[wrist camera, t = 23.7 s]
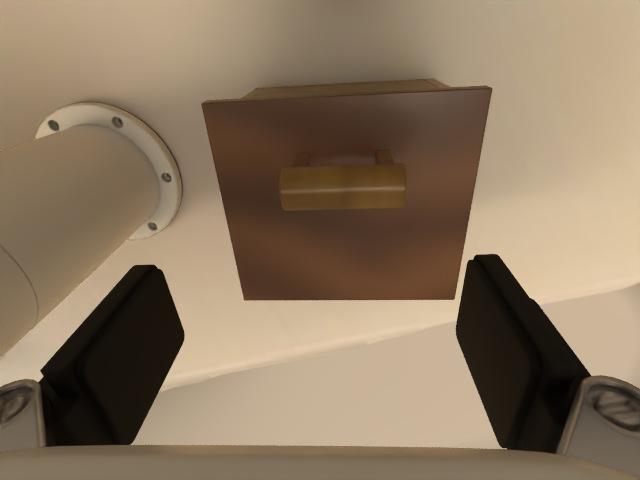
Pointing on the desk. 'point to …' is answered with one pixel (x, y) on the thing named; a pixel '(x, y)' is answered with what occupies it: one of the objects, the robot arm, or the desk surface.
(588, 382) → the robot arm
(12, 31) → the desk surface
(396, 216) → the lid
